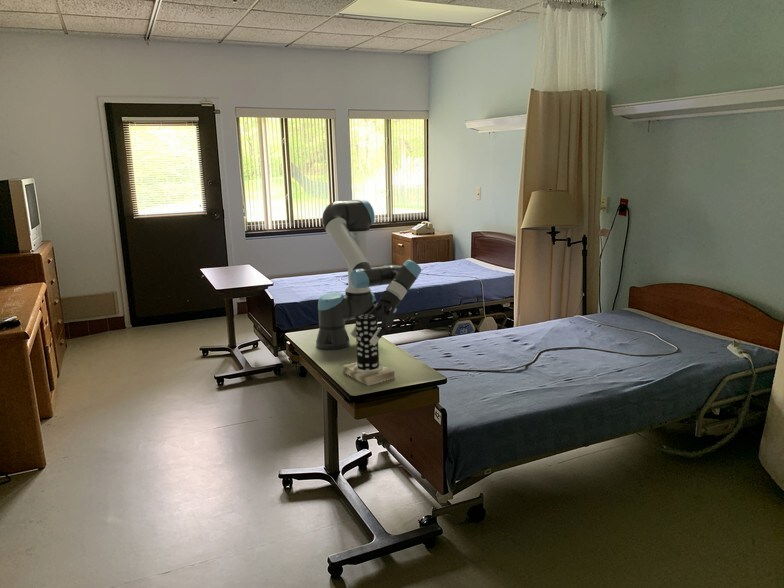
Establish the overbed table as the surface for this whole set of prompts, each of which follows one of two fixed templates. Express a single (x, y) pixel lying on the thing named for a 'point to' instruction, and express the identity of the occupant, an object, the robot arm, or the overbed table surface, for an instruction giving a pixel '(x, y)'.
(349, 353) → the overbed table surface
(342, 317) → the robot arm
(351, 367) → the plinth
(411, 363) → the overbed table surface
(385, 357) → the overbed table surface
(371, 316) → the spotted tube
